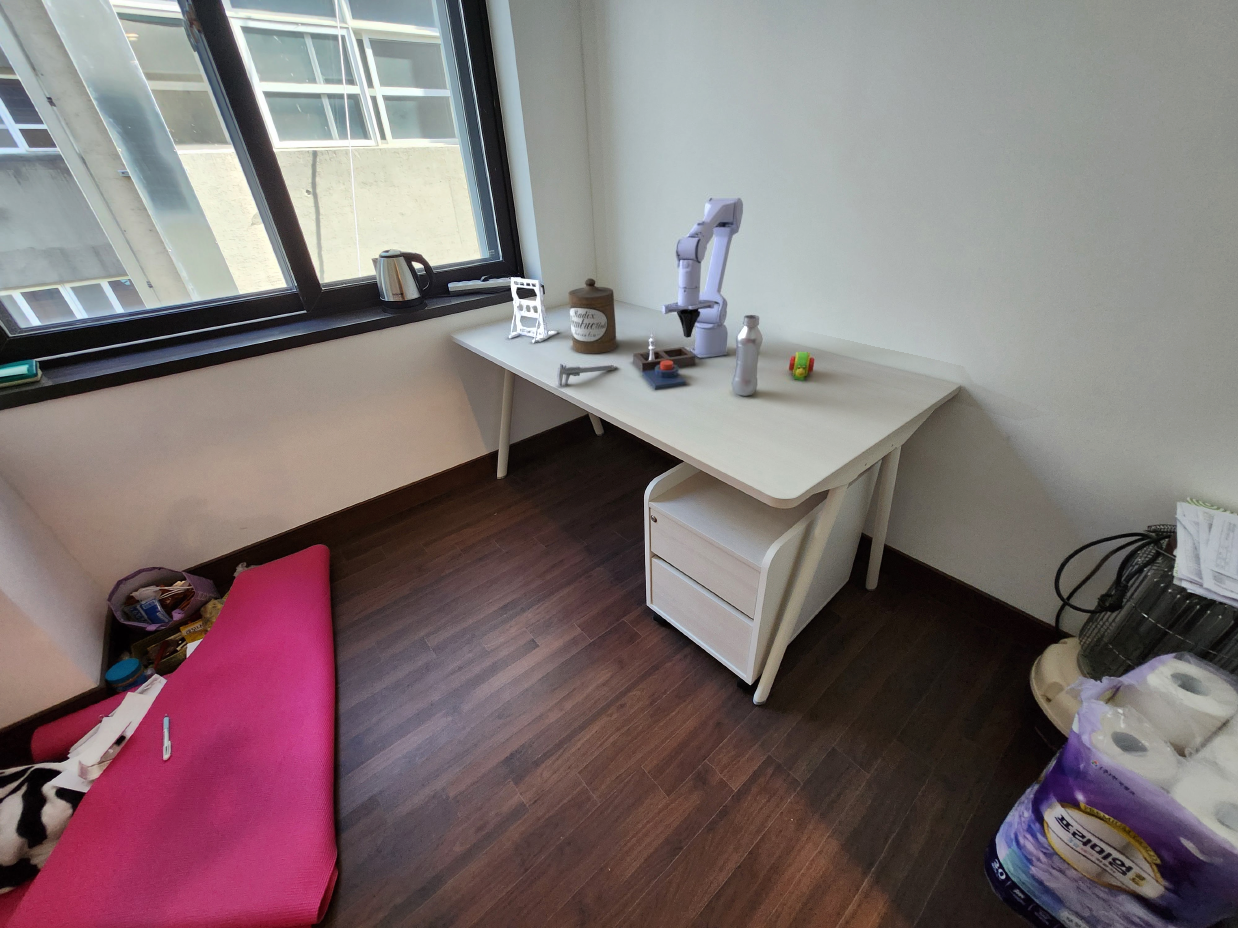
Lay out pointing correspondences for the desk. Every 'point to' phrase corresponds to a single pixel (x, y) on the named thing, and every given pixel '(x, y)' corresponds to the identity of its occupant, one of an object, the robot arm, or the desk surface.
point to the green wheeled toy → (801, 365)
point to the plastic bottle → (747, 356)
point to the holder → (664, 358)
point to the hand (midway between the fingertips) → (687, 336)
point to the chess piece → (651, 347)
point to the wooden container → (592, 318)
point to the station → (664, 377)
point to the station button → (666, 365)
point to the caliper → (579, 371)
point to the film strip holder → (541, 315)
